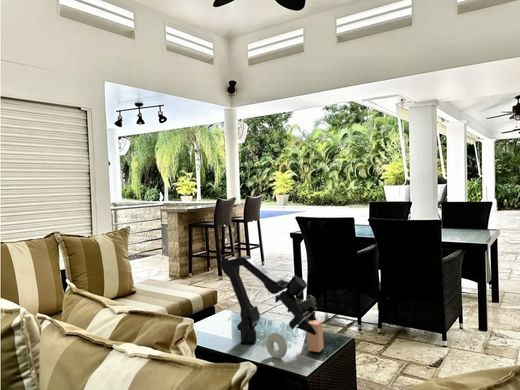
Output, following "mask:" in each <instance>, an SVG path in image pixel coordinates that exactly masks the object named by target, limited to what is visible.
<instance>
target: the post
mask: <svg viewBox="0 0 520 390" xmlns="http://www.w3.org/2000/svg"><path fill="white" fill-rule="evenodd" d="M309 323H310V325H311V326H312V327H313V329H314V330H315V332H316V334H315V335H313V334H311V333H309V332H307V331H306V342H307V351H310V352H315V353H320V352H321V351H322V350H324V344H325V343H324V333H323V332H324V331H323V330H324V329H323V320H318V319H316V320H310V321H309Z"/></svg>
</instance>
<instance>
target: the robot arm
mask: <svg viewBox="0 0 520 390" xmlns="http://www.w3.org/2000/svg"><path fill="white" fill-rule="evenodd" d="M240 267H243V268H245V270H247V271H249V273H251V274H252V275H253V276H255V277H256V278H257V279H258V280H260V282H261V283H263V286H264V288H265V289H266V290H267V291H268V293H269V294H271V295H275V296H274V297H275V300H274V301H275V303H278V302H281V303H282V304H283V306H284V307H286V309H287V310H286V312H287V313H291V314H292V315H293V316H294V317H293V318H292V319H291V320H290V321H289V322H288V327H289V328H290V329H291V330H294V329H295V328H296V329H299V330H302V331H305V332H306V333H307V332H309V333H311V334H313V335H315V334H316V332H315V330H314V329H313V327H312V326H311V325H310V323H309V321H310V320H317V318H316V312H317V311H316V310H317V309H318V307H317V302H316V297H315V296H313V295H312V294H309V295H307V296H306V299H304V300H302V299H301V298H299V299H298V298H297V297H299V296H300V294H301V293H302V292H303V291H304V290H306V288H307V287H308V284H307V281H306V280H304V278H301V277H299V276H297V275H293V276H292V277H291V279H290V280H289V281H286V280H284V279H283V278H281V277H279V276H277V275H274V274H271V273H269V272H268V271H267V270H265V268H263V267H262V266H261V265H259V263H257V262H255V260H253V259H252V257H250V256H249V255H244V256H238V257H235V256H228V257H226V258H223V259H222V260H221V261H220V268H221V270H222V271H223V273H224V274H225V276H227V277H228V279H229V281H230V283H231V287H232V289H233V291H234V294H235V296H236V299H237V302H238V304H239V307H240V314H239V315H240V320H241V321H239V323H238V324H237V325H236V328H237V330H238V331H240V343H239V344H240V345H255V344H256V342H257V340H258V337H257V336H258V335H257V330H256V327H257V325H258V323H259V322H260V318H261V316H260V315H261V313H260V311H259V308H258V305H253V304H252V303H251V300H250V298H249V296H248V293H247V291H246V288H245V287H246V286H245V285H244V283H243V280H242V278H241V274H240V272H241V271H240ZM276 294H277V295H276Z"/></svg>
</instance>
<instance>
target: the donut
mask: <svg viewBox="0 0 520 390" xmlns="http://www.w3.org/2000/svg"><path fill="white" fill-rule="evenodd" d="M284 338H285V337H283V336H282V335H281V334H279V333H278V332H272V333H270V334H269V335H268V336H267V338H266V340H265V347H266V350H267V353H268V354H269V355H270V356H271V357H272V358H274V359H279V360H281V359H282V358H284V357H285V356H286V354H287V351H288V346H287V342H286V340H285V339H284ZM275 343H276V344H277V346H278V349H277V348H276V346H275Z"/></svg>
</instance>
